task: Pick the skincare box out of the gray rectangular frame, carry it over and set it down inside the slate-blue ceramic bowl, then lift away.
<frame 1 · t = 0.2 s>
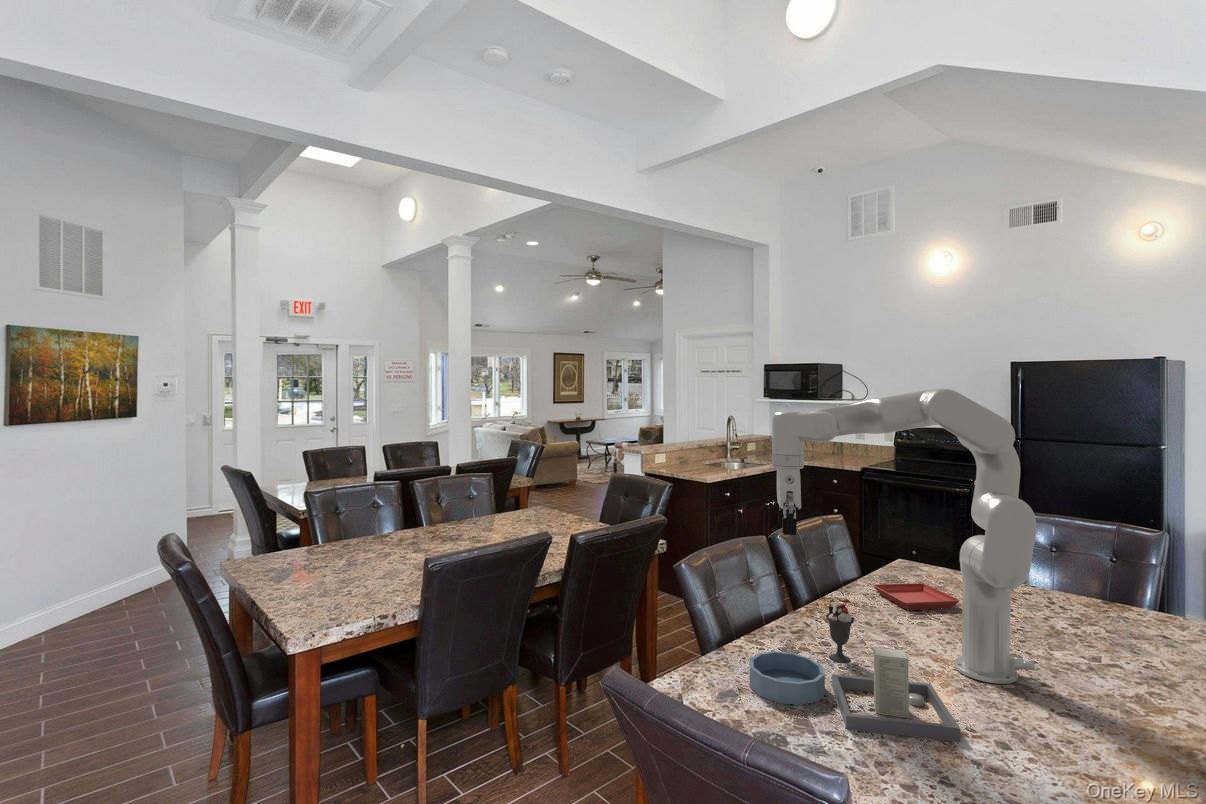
hand: (787, 530, 150), 31 cm above the table, tool pointing down, fingers open, 9 cm apart
pebble b: (864, 722, 119), resting in gray rectangular frame
skincare box: (890, 712, 124), resting in gray rectangular frame
sundae: (839, 659, 148), on the table
gray rectangular frame: (890, 711, 124), on the table
plant saucer: (914, 603, 191), on the table
pebble a: (915, 703, 127), resting in gray rectangular frame
bowl: (786, 686, 134), on the table
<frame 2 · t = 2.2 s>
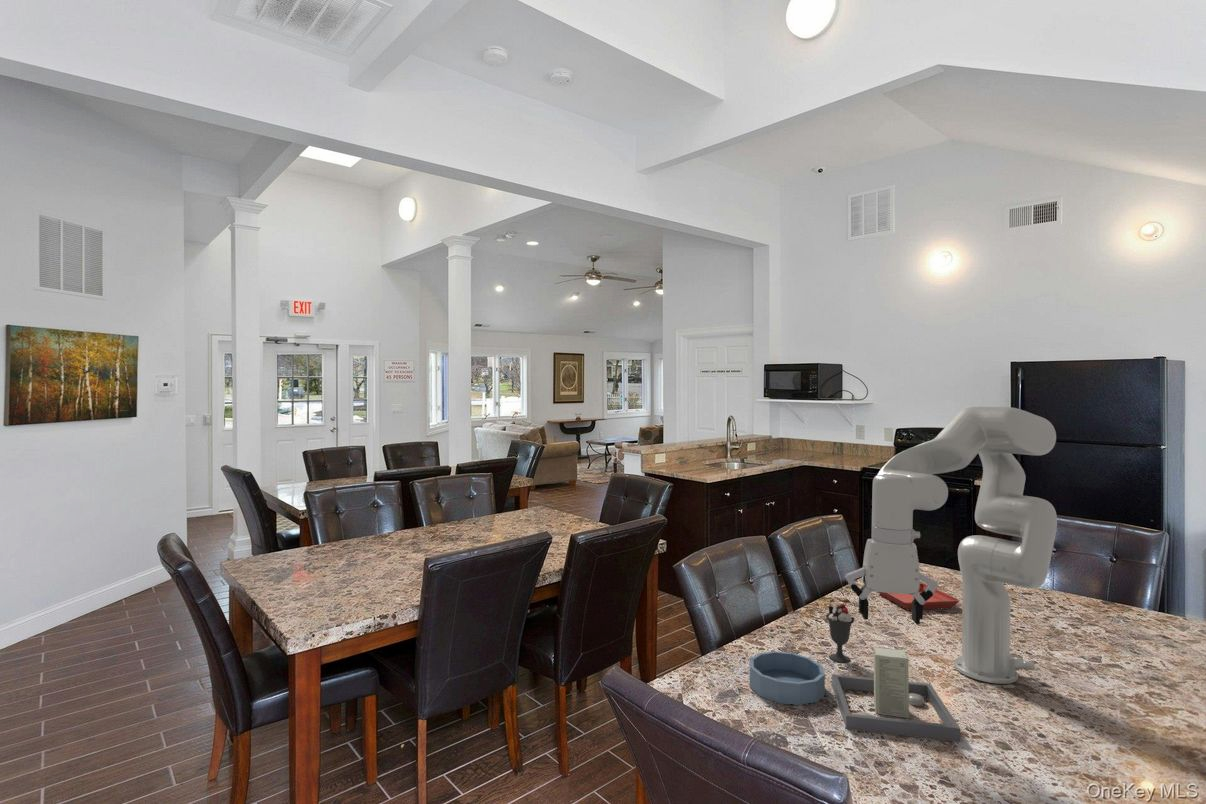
hand: (889, 619, 123), 19 cm above the table, tool pointing down, fingers open, 9 cm apart
nothing on the table moved.
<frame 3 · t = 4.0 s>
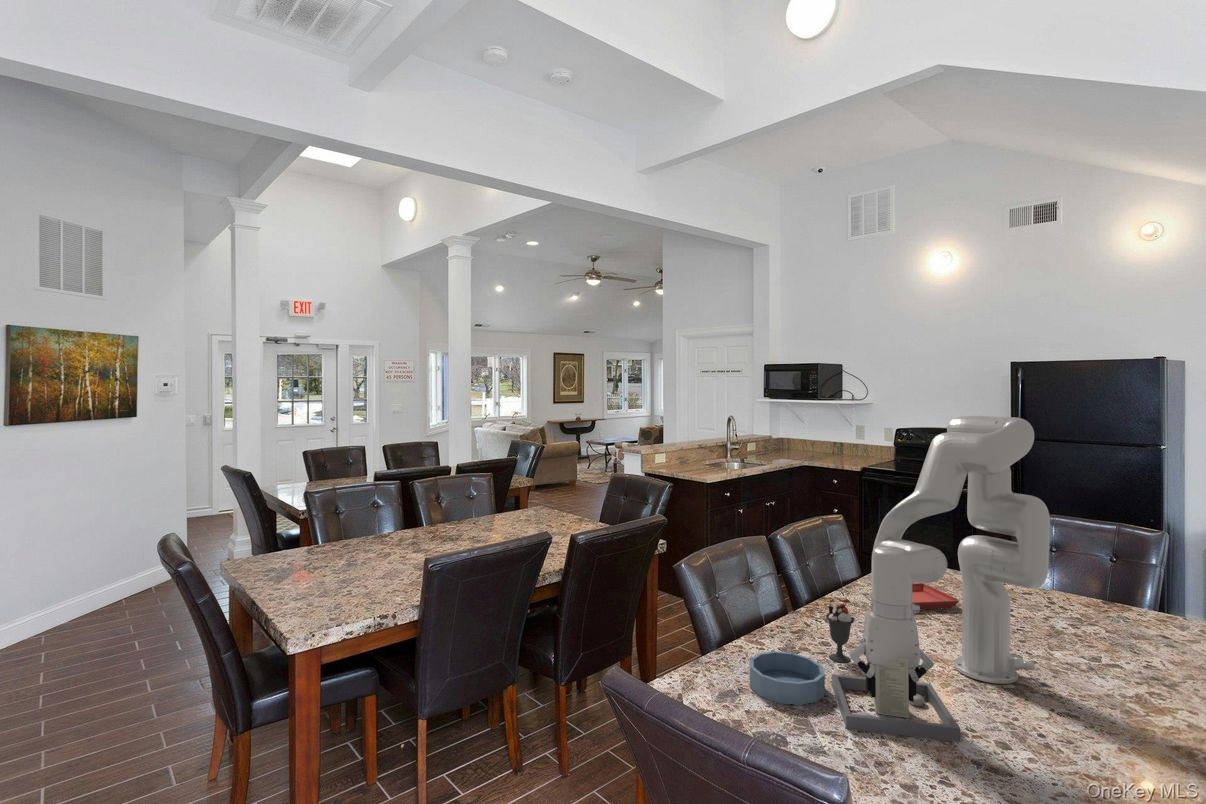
hand: (890, 695, 123), 3 cm above the table, tool pointing down, fingers closed on skincare box, 6 cm apart
skincare box: (890, 712, 124), resting in gray rectangular frame, touching gripper
everything else where it was.
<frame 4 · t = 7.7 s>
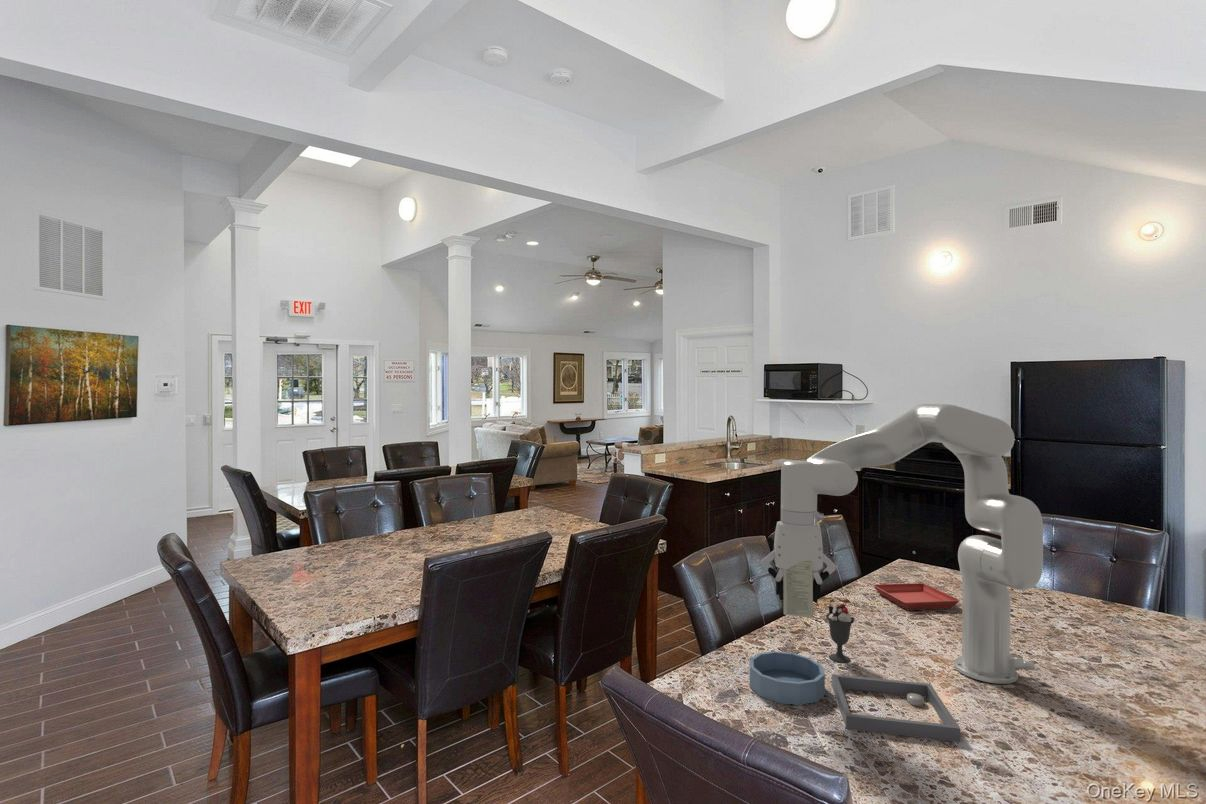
hand: (797, 598, 132), 20 cm above the table, tool pointing down, fingers closed on skincare box, 6 cm apart
skincare box: (797, 614, 132), point 17 cm above the table, touching gripper
everything else where it was.
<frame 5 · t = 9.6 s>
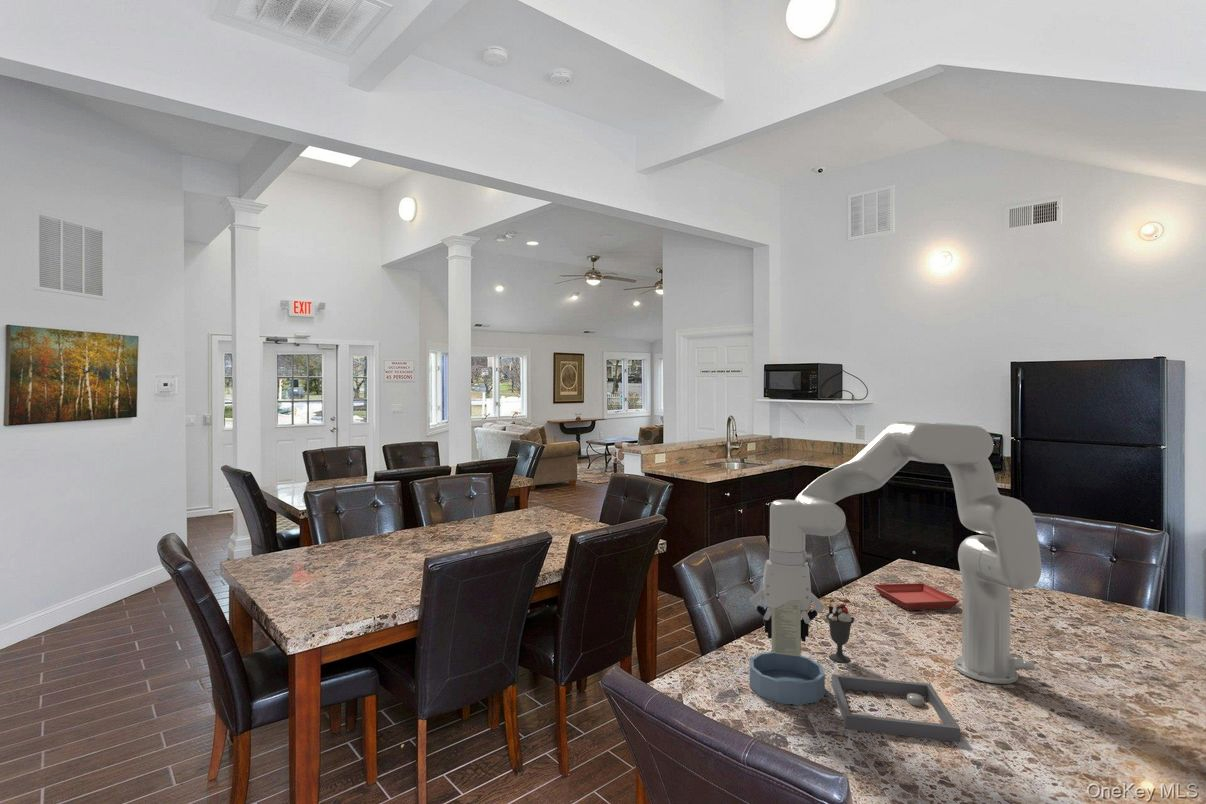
hand: (786, 637, 134), 11 cm above the table, tool pointing down, fingers closed on skincare box, 6 cm apart
skincare box: (785, 652, 134), point 8 cm above the table, touching gripper
everything else where it was.
when the fingers open (5 cm above the table, at t = 11.2 s): skincare box drops 1 cm, resting on bowl.
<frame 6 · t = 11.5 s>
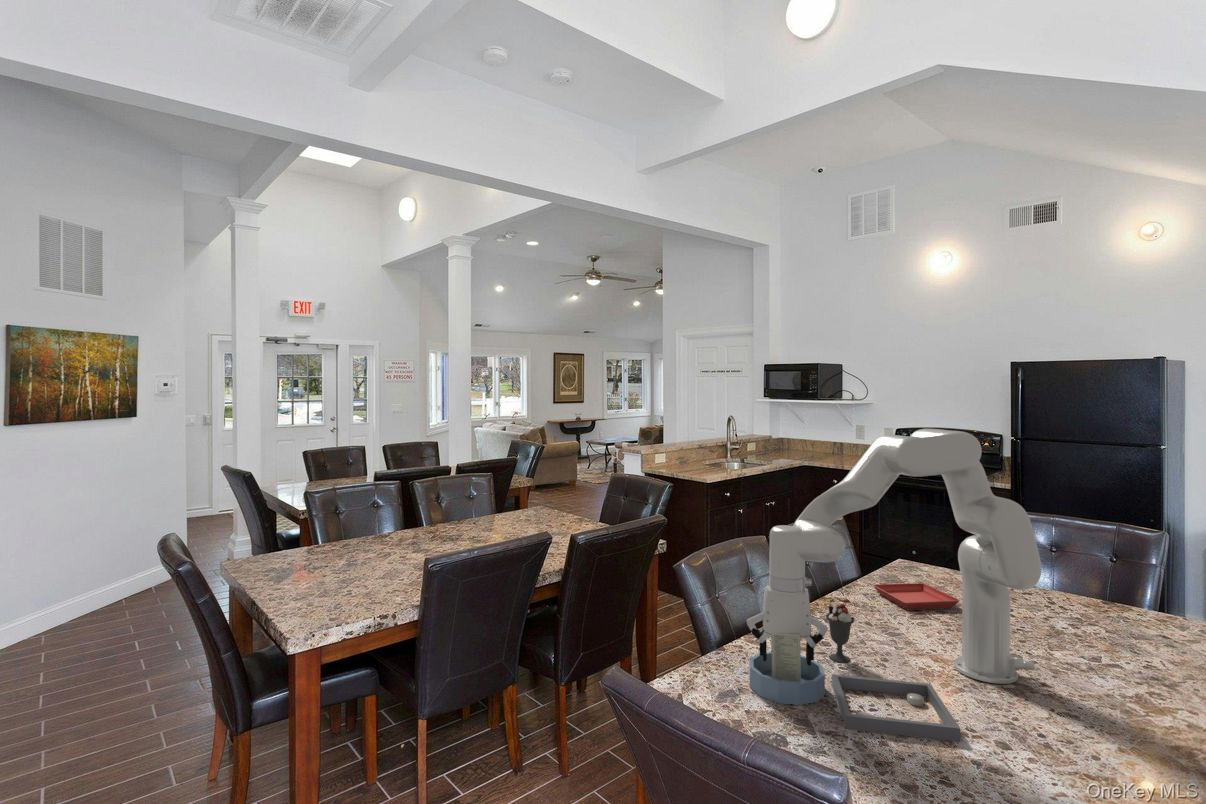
hand: (786, 660, 134), 6 cm above the table, tool pointing down, fingers open, 9 cm apart
skincare box: (785, 684, 134), resting on bowl
everything else where it was.
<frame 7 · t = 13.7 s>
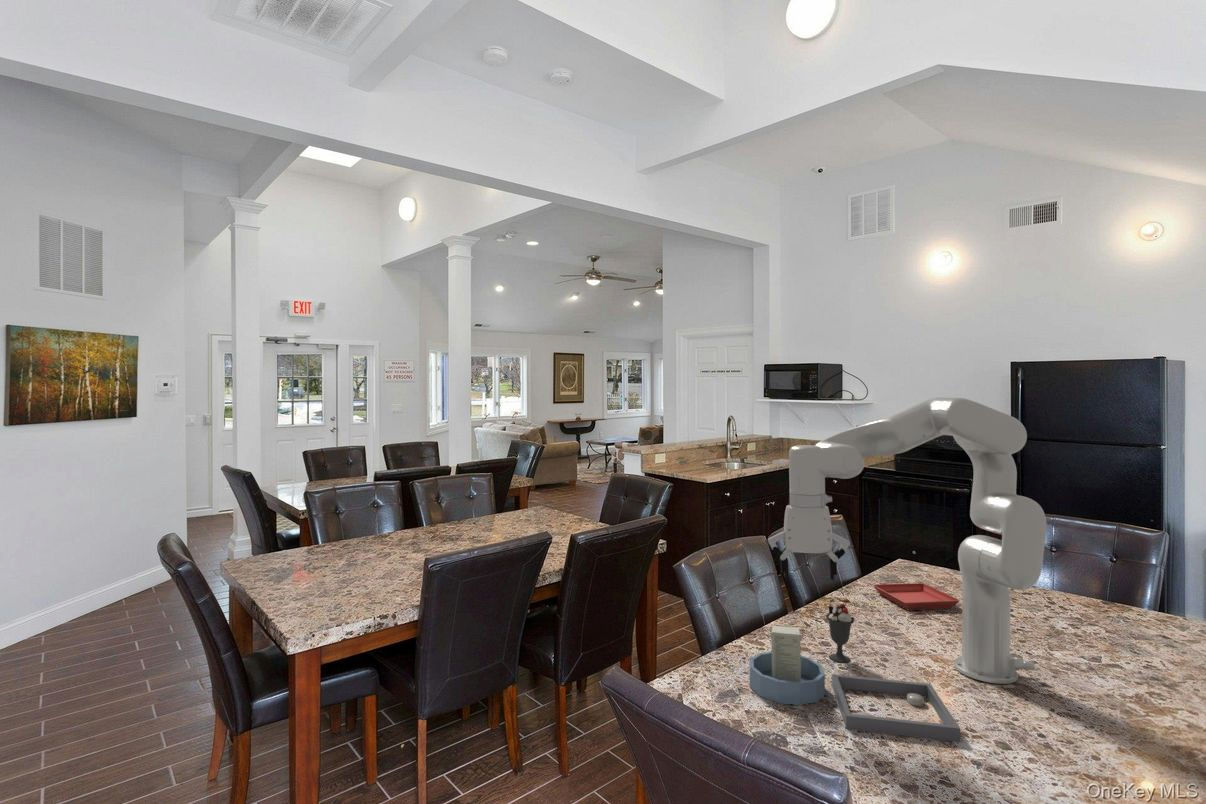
hand: (808, 577, 135), 24 cm above the table, tool pointing down, fingers open, 9 cm apart
nothing on the table moved.
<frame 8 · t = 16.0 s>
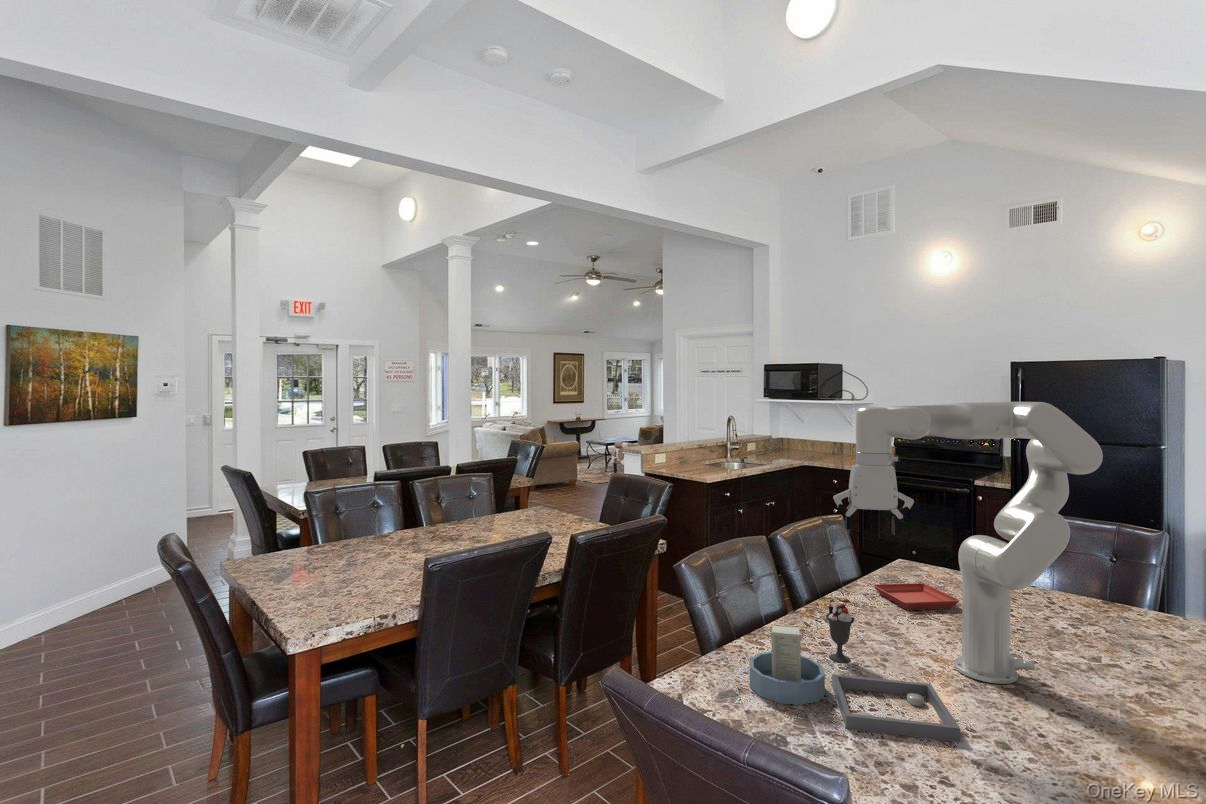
hand: (872, 533, 141), 32 cm above the table, tool pointing down, fingers open, 9 cm apart
nothing on the table moved.
at the end: skincare box inside the target area on the bowl (0.0 cm from its centre), point 0.4 cm above the bowl's base; the gripper is holding nothing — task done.
